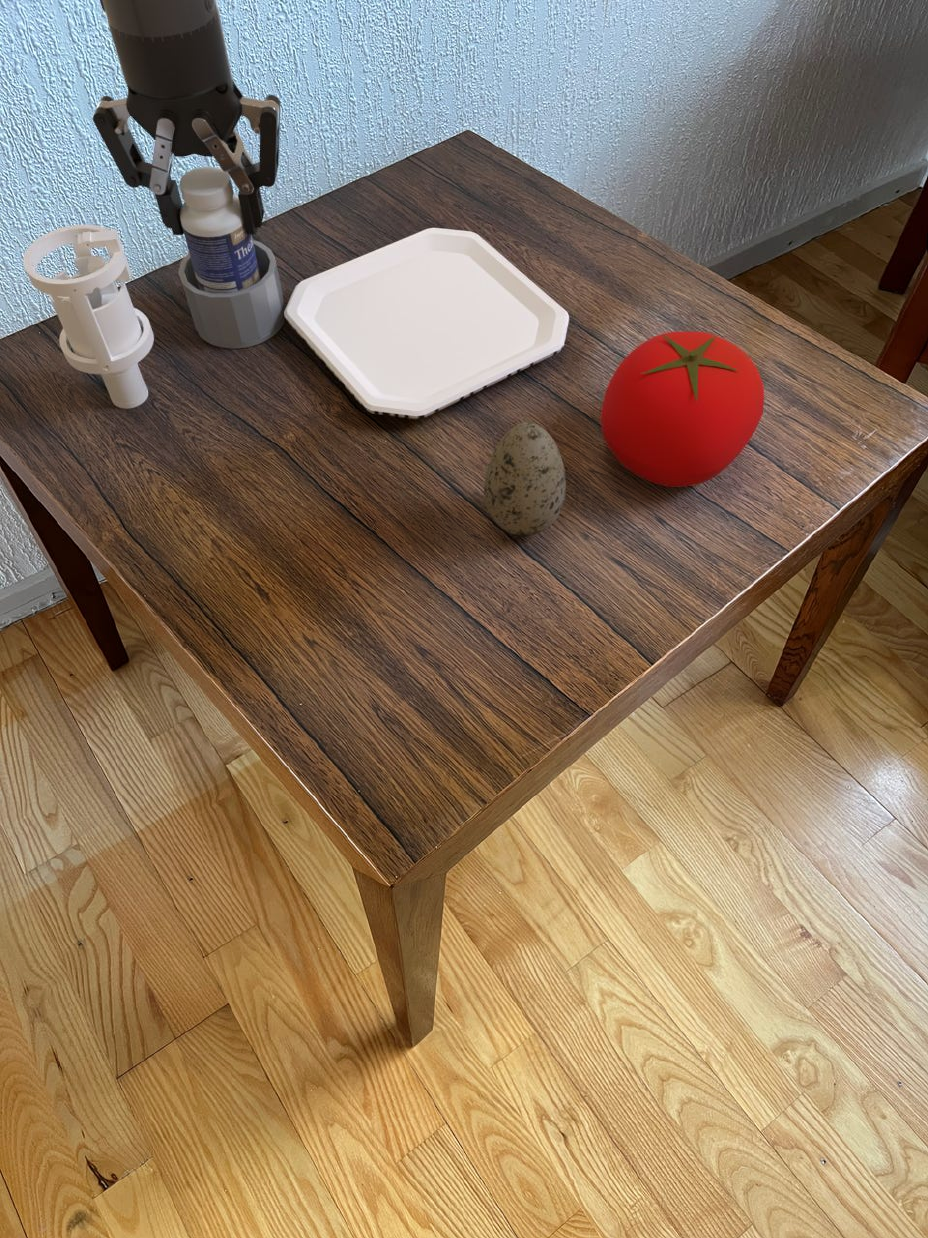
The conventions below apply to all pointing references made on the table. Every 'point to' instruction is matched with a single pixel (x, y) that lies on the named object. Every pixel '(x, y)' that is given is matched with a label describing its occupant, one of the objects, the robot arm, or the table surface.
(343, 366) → the plate
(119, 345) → the white ringed tube holder
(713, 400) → the tomato
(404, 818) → the table surface
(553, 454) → the decorative egg
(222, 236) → the pill bottle
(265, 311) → the grey faceted pot
